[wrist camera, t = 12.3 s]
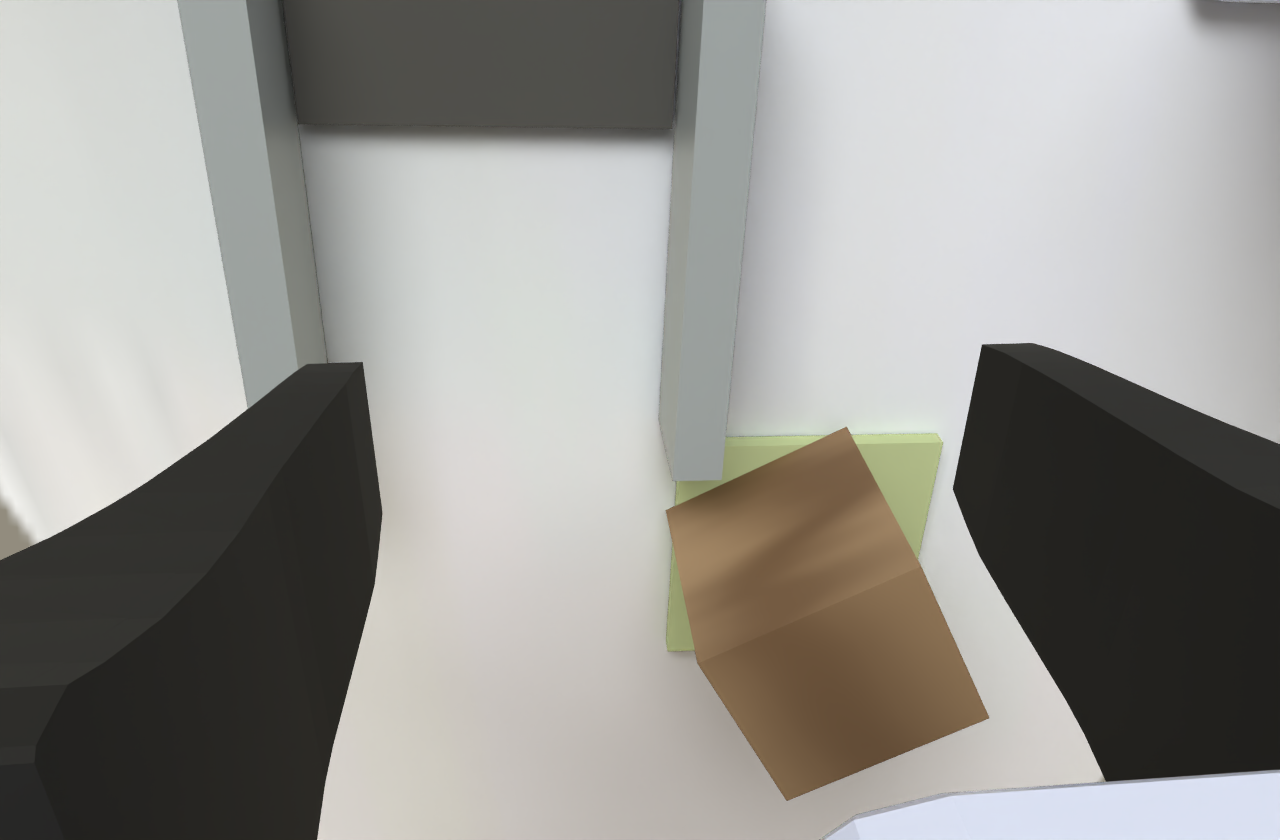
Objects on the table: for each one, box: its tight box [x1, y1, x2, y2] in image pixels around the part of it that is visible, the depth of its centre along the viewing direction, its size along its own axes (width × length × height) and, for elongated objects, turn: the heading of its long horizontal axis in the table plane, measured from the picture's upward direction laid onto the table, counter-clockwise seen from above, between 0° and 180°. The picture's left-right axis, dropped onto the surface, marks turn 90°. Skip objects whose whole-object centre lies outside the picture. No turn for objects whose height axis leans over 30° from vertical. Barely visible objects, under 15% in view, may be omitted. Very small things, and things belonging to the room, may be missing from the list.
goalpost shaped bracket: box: [177, 0, 766, 481], centre depth 19 cm, size 9×10×2 cm
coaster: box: [666, 433, 943, 652], centre depth 25 cm, size 6×6×1 cm
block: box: [666, 427, 989, 801], centre depth 22 cm, size 4×4×5 cm
